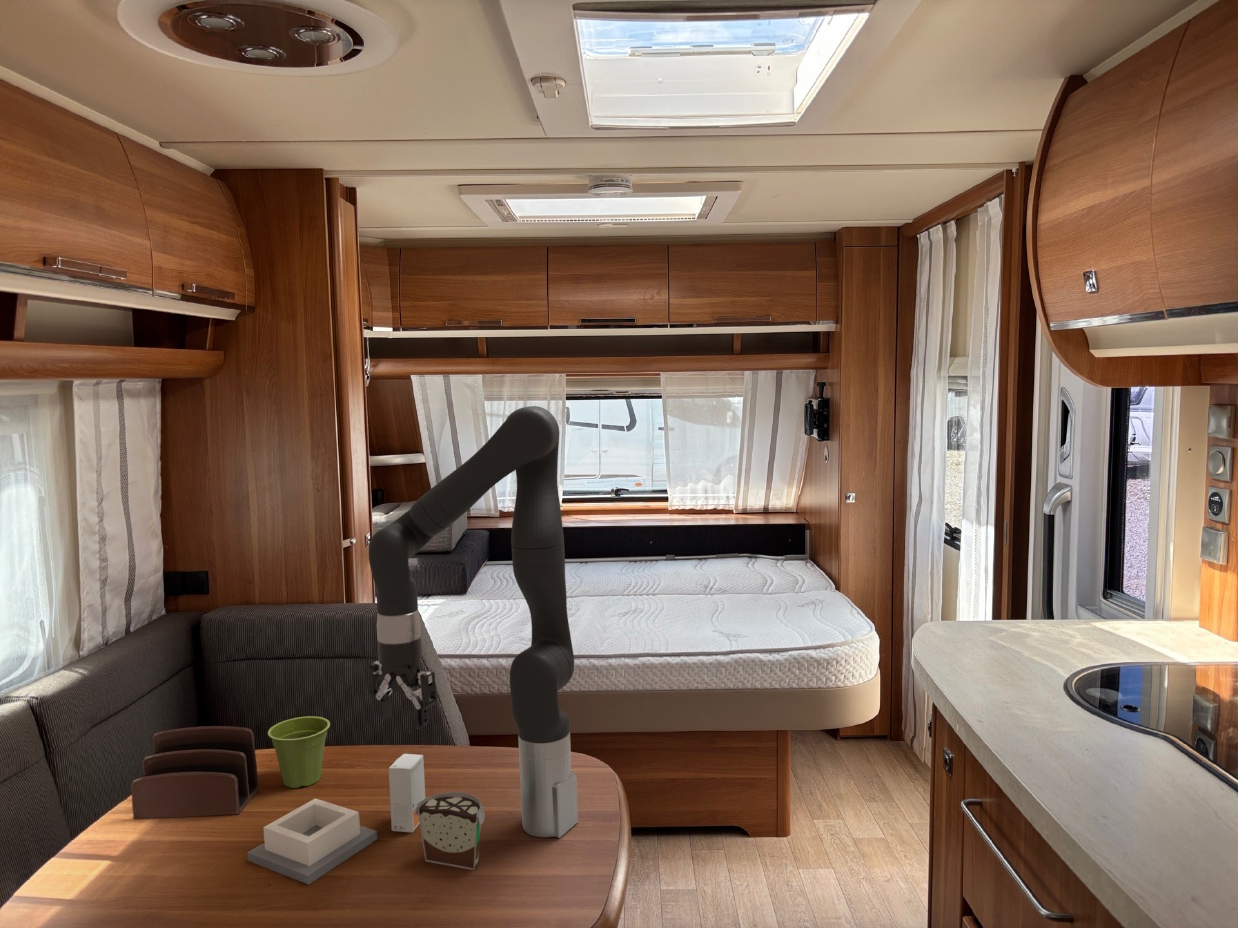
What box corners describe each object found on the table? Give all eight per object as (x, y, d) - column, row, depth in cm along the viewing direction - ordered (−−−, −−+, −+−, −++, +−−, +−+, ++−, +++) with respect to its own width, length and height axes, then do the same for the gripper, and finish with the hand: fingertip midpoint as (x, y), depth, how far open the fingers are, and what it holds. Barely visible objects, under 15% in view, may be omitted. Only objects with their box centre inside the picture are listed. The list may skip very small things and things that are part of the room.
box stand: (377, 838, 148) (375, 809, 148) (308, 884, 135) (306, 852, 135) (318, 819, 156) (316, 790, 155) (247, 860, 143) (245, 829, 142)
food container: (500, 851, 143) (497, 795, 142) (482, 871, 138) (479, 813, 137) (437, 840, 147) (434, 785, 146) (417, 859, 142) (414, 803, 141)
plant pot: (321, 793, 166) (317, 738, 164) (261, 795, 166) (257, 740, 165) (341, 766, 177) (338, 714, 176) (286, 767, 178) (282, 716, 176)
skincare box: (413, 833, 150) (409, 769, 149) (391, 831, 151) (387, 767, 150) (427, 815, 156) (424, 754, 155) (406, 814, 157) (402, 752, 155)
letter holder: (159, 794, 168) (153, 726, 166) (260, 790, 168) (254, 722, 167) (132, 820, 158) (125, 748, 156) (239, 815, 158) (233, 744, 157)
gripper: (443, 634, 149) (448, 722, 151) (385, 624, 156) (389, 708, 158) (414, 647, 143) (418, 738, 145) (354, 636, 150) (359, 723, 152)
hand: (403, 722), depth 151 cm, fingers open, 8 cm apart
